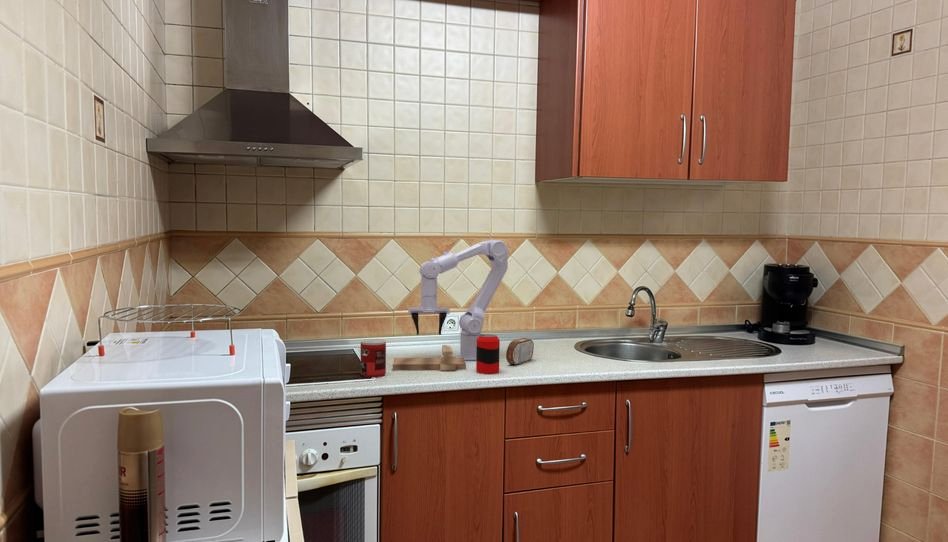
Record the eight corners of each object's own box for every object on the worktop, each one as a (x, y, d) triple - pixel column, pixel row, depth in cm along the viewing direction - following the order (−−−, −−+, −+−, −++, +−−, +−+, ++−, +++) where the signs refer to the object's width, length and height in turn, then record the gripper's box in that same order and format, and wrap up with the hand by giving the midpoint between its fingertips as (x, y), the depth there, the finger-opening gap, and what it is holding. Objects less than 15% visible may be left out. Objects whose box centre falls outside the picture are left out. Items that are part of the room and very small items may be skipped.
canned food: (361, 372, 208) (361, 338, 208) (386, 372, 209) (386, 338, 208) (359, 378, 201) (359, 343, 200) (385, 377, 201) (385, 343, 201)
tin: (527, 358, 232) (528, 335, 232) (535, 360, 231) (535, 336, 230) (505, 366, 220) (505, 341, 219) (512, 367, 218) (513, 342, 218)
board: (463, 363, 224) (463, 357, 223) (465, 369, 214) (465, 363, 213) (393, 363, 221) (393, 358, 221) (392, 370, 211) (392, 364, 211)
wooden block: (453, 362, 223) (453, 345, 222) (455, 370, 211) (455, 351, 211) (439, 362, 222) (439, 345, 222) (440, 370, 211) (440, 351, 210)
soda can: (480, 368, 216) (480, 332, 215) (501, 370, 214) (502, 334, 213) (473, 373, 209) (473, 336, 208) (495, 375, 206) (496, 338, 206)
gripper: (408, 297, 221) (407, 336, 222) (450, 297, 222) (449, 335, 223) (408, 294, 228) (408, 332, 229) (449, 294, 229) (448, 332, 230)
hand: (428, 334), depth 227 cm, fingers open, 7 cm apart
